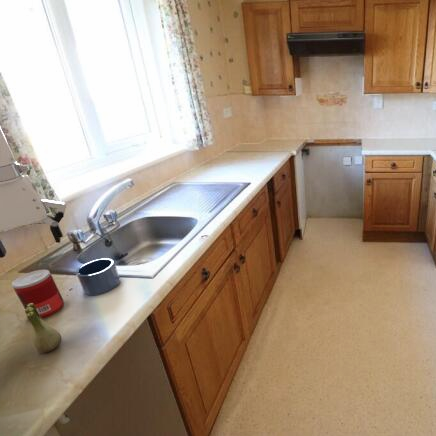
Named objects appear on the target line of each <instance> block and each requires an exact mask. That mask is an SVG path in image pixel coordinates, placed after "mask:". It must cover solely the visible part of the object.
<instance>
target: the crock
mask: <svg viewBox="0 0 436 436" xmlns="http://www.w3.org/2000/svg"><path fill="white" fill-rule="evenodd" d="M75 274H76V278H77V279H78V282H79V285H80V287H81V289H82V291H83V292H84V294H85V295H87V296H100V295H103V294H106V293H108V292H110V291H112V290H114V289H115V288H116V287H118V286H119V285H120V283H121V276H120V275H119V274H120V273H119V272H118V269H117V266H116V264H115V261H114V260H113V259H112V258H107V257H105V258H99V259H94V260H92V261H89V262H86V263H84V264H83V265H81V266H80V267H79V268H77V269H76V271H75Z"/></svg>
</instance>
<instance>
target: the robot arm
mask: <svg viewBox="0 0 436 436" xmlns="http://www.w3.org/2000/svg"><path fill="white" fill-rule="evenodd" d="M26 171H30V168H29V165H28V164H27V163H25V164H22V163H19V162H18V161H17V160H16V158H15V156H14V153H13V151H12V149H11V147H10V144H9V143H8V141H7V138H6V136H5V134H4V132H3V130H2V127H1V126H0V232H1V231H6V230H10V229H16V228H20V227H24V226H28V225H32V224H36V223H41V222H42V223H45V224H47V225H49V230H50V232H51V234H52V237H53V238H54V241H55V243H56V244H61V241H62V240H61V239H62V238H63V237H64V235H63V232H62V230H61V227H60V226H59V224H60V222H61V221H62V219H63V218H64V216H65V212H66V209H67V204H66V202H64V201H63V202H62V201H55V200H49V199H43V197H42V194H41V193H40V192H39V190H38V188H37V187H36V185H35V183H34V182H33V180H32V178H30V176H29V175H28V174H23V173H25V172H26ZM48 208H53V209H57V212H56V213H55V215H54V216H53V215H51V214H49V211H48ZM6 254H7V250H6V248H5V245H4V244H3V242H2V240H1V239H0V259H3V258H5V257H6Z"/></svg>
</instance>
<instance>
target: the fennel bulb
mask: <svg viewBox="0 0 436 436" xmlns="http://www.w3.org/2000/svg"><path fill="white" fill-rule="evenodd" d="M24 312H25V314H26V317H27V320H28V321H29V322H30V325H32V341H33V345H34V348H35V350H36V352H38V353H39V354H46V353H48V352H51V351H53V350H55V349H56V348H57V347H59V346H60V344H61V343H62V335H61V333H60V332H59V331H58V330H57V329H56V328H55V327H54V326H51V325H50V324H48V323H47V322H46V321H44V320H43V318H41V317H40V315H39V313H38V311H37V310H36V308H35V306H34V304H33V303H30V304H28V305H27V308H26V309H25V308H24Z"/></svg>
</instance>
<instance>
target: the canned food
mask: <svg viewBox="0 0 436 436" xmlns="http://www.w3.org/2000/svg"><path fill="white" fill-rule="evenodd" d="M11 286H12V288H13V290H14V292H15V294H16V295H17V297H18V299H19V301H20V303H21V305H22V306H23V308H24V310H25V309H26V308H27V305H28V304H30V303H33V304H34V306H35V308H36V310H37V311H38V313H39V315H40V317H41V319H43V318H47V317H49V316H51V315H54V314H55V313H57V312H59V310H61V309H62V308H63V307H64V304H65V301H64V299H63V296H62V294H61V292H60V290H59V287H58V285H57V284H56V281H55V279H54V277H53V276H52V274H51V272H50V270H49V269H37V270H33V271H30V272H26V273H25V274H22V275H21V276H18V277H17V278H16V279H14V280H13V281H12V283H11Z"/></svg>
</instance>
